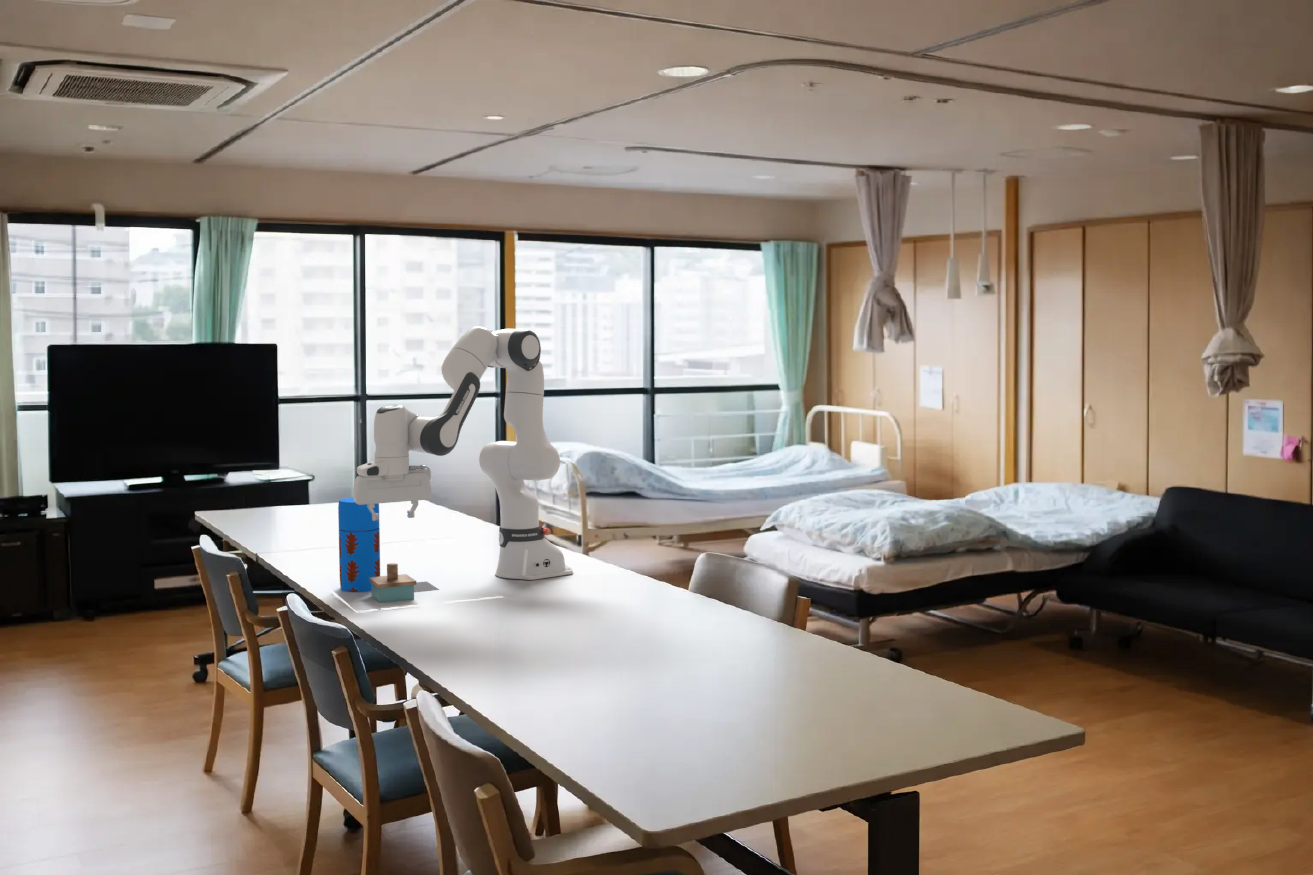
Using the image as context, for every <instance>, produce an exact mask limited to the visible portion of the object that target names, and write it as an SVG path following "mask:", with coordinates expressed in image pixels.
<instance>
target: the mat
mask: <svg viewBox="0 0 1313 875" xmlns="http://www.w3.org/2000/svg"><path fill="white" fill-rule="evenodd" d="M431 591H432V592H433V591H440V589H439V588H437V586H435V585H433V584H432V583H430V582H429V581H416V585H414V593H421V592H431Z"/></svg>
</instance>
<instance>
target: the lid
mask: <svg viewBox="0 0 1313 875" xmlns="http://www.w3.org/2000/svg"><path fill="white" fill-rule="evenodd" d="M369 581H370V582H371V583H372V584H373V585H375V586H376V587H377V588H388V587H398V586H409V585H416V582H417V580H415V579H414V578H413V577H411V576H410V575H408V574H407V573H404V574H399V564H398V563H396V562H395V563H394V562H392V563H387V564H386V575H384V576H383V575H382V576H381V575H380V577H369Z"/></svg>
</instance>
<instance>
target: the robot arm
mask: <svg viewBox="0 0 1313 875" xmlns="http://www.w3.org/2000/svg"><path fill="white" fill-rule="evenodd" d="M541 349H542V348H541V341H540V339H539V337H538V335H537V333H536V332H534V331H532V330H530V329H525V328H504V329H498V330H489V328H487V327H483V326H473V327H471V328H469V329H468V330H467V331H466V332H465V333H464V334H463V335H462V336H461V337H460V338H459V339H458V340H457V342H456V343H455V344H454V345H453V346H452V348H451V349H450V351H449V352H448V353H447V355H446V356H445V358H444V360H443V362H442V364H441V367H440V368H441V375H442V377H443V380H444V381H445V383H446V384H447V385H448V386H449V387H450V388H451V389H452V390H453V393H452V394H451V396H450V398H449V400H448V403H447V404H446V406H445V408H444V410H443V412H441V413H440V414H439V415H436V416H424V415H419V414H416V413H414V412H412V411H410V410H409V409H407V408H406V406H404V405H403V404H400V403H398V404H396V403H395V404H389V405H385V406H382V407H379V408H378V409H377V410H376V412H375V415H374V420H373V442H374V445H375V451H374V460H372V461H368V462H366V463H364V464H361V465H359V466H357V467H356V473H357V476H356V477H355V479H354V483H353V492H352V495H353V496H352V498H353V500H354V502H355V503H356V504H358V505H364V504H367V507H368V509H369V511H370V512H371V513H372V520H373V521H378V520H379V521H380V513H379V514H378V513H375V512H374V510H373V508H375V504H377V503H379V504H387V503H400V502H410V504H412V506H411V507H410V509H409V510H407V511H406V513H407V518H408V519H413V518H415V511H417V510H416V509H417V508H418V506H419V501H427V500H430V499H431V497H432V485H431V481H430V480H431V477H432V472H431V469H430V467H428V466H427V465H424V464H420V465H410V454H409V452H417V453H424V454H425V453H426V454H429V455H434V456H439V457H443V456H446V455H449V454H450V453H451V452H452V451H453V450H455V449H454V448H455V447H456V446H457V444H458V441H459V437H460V433H461V431H462V428H463V426H464V423H465V421H466V419H467V418H468V415H469V414H470V411H471V409H472V407H473V406H474V403H475V400H477V397H478V395H479V392H480V389H481V379H482V377H483V375H484V373H485V372H486V371H487V369H488V368H490V369H491V368H493V369H494V368H501V369H505V370H506V375H507V381H506V387H505V397H504V398H505V399H504V410H503V418H504V422H505V423H506V424H507V425H508V426H510V427H511V428H512V429H513V430H514V433H515V434H516V441H514V440H510V441H509V440H497V441H493V442H487V443H486V444H485V445H484V446H483V447H482V448H481V450H480V453H479V458H478V462H479V466H480V468H481V471H482V472H483V473H484V474H485V475H486V476H487V477H488V478H489V480H491V482H492V484H493V486H494V487H495V490H496V494H497V497H498V500H499V509H500V510H499V511H500V512H499V513H500V526H499V530H498V544H499V554H498V562H497V567H496V570H495V576H497V577H499V578H503V579H515V580H517V579H518V580H528V581H534V580H540V579H547V578H553V577H555V578H556V577H561V576H567V575H572V574H573V573H574V572H573V568H572V567H571V566H569V565H566V562H565V557H564V554H563V552H562V550H561V549H560V548H559V547H557V546H556V545H554V544H553V543H552V542H551V541H549V540H548V539H546V538H545V537H546V536H550V534H551V533H552V531H551V529H550V528H548V527H542V526H540V524H539V523H540V522H539V519H540V518H539V517H540V516H539V511H540V510H539V505H540V504H539V500H538V498H537V497H536V495H534V494H533V493H532V492H530V490H529V489H528V488H527V486H526V483H525V481H534V482H536V481H538V482H539V481H544V480H548V479H549V480H550V479H552V478H554V477H555V476H556V475H557V473H558V471H559V469H560V466H561V459H560V458H561V457H560V454H559V452H558V450H557V449H556V447H555V446H554V445H552V444H551V442H550V441H549V439H548V436H547V435H546V432H545V428H544V422H543V417H544V416H543V415H544V395H545V375H544V374H545V373H544V366H543V364H542V363H541V361H540V360H541V352H542V350H541Z"/></svg>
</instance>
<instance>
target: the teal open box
mask: <svg viewBox="0 0 1313 875" xmlns="http://www.w3.org/2000/svg"><path fill="white" fill-rule="evenodd" d="M370 592H371V593H370V594H371V597H372V598H373V599H374V600H376V601H377V602H378V603H380V604H381V603H384V604H385V603H391V602H393V603H394V602H400V601H401V602H402V601H411V600H415V592H414V585H409V586H398V587H388V588H377V587H376V586H375V585H373V584H372V583H371V591H370Z"/></svg>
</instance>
